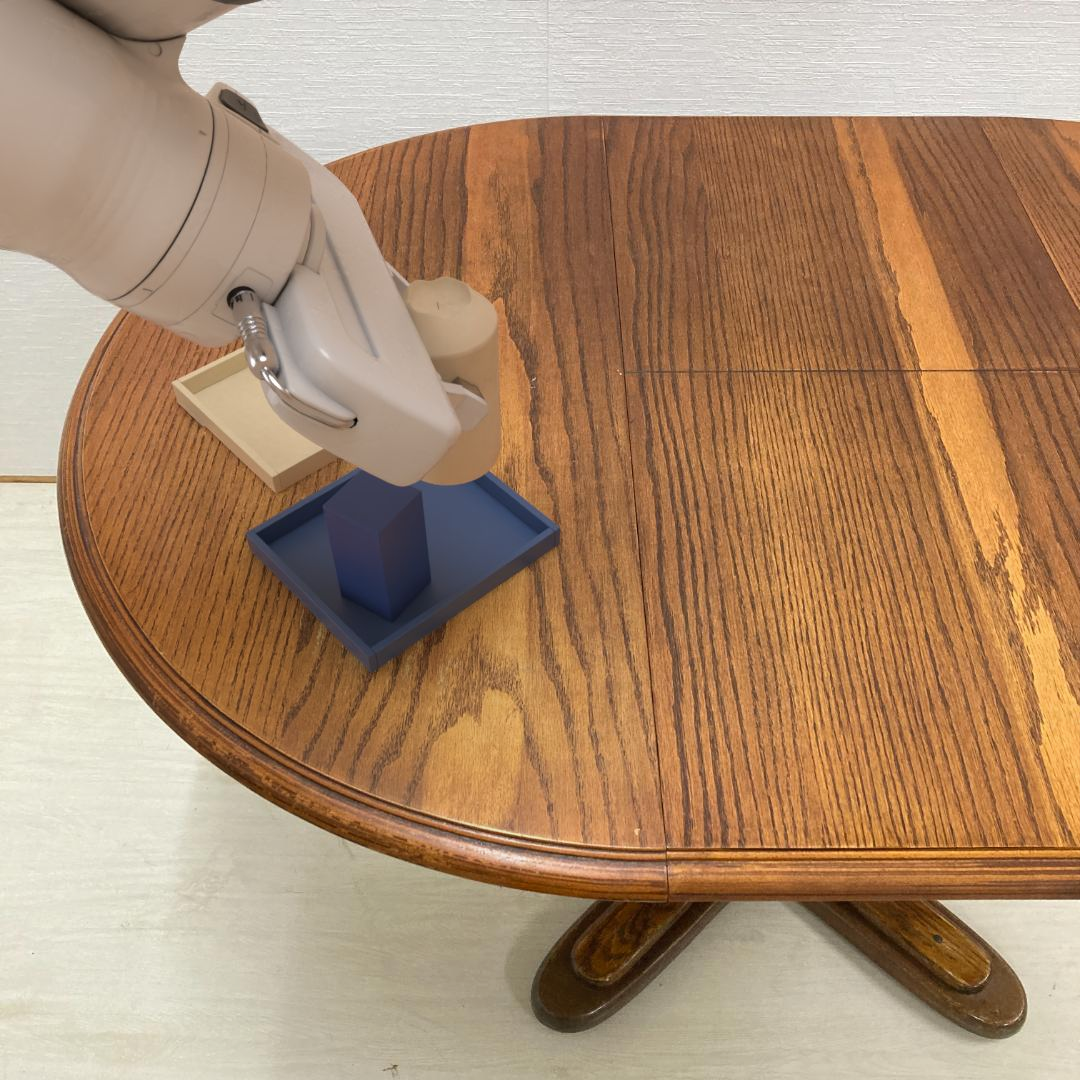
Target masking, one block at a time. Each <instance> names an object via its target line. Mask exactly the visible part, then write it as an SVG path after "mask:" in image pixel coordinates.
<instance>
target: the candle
mask: <svg viewBox="0 0 1080 1080" xmlns="http://www.w3.org/2000/svg"><path fill="white" fill-rule="evenodd" d="M409 284H410V285H409V287H408V288H407V289H406V290H404V291H403V292H402V293H401V297H402V299H403V301H404V303H405V305H406V307H407V309H408V312H409V314H410V316H411V318H412V320H413V322H414V324H415V327H416V329H417V331H418V333H419V335H420V337H421V340H422V342H423V344H424V346H425V348H426V350H427V352H428V355H429V357H430V359H431V361H432V363H433V365H434V367H435V370H436V372H438V373H439V374H440V376H441V378H442V380H441V381H443V382H447V383H451V382H452V381H453V380H454V379H455V378H456V377H457V376H458V377H460V378H462V379H464V380H466V381H468V382H469V383H470V384H471V385H475V386H477V387H478V388H479V390H480V392H481V393H482V395H483V397H484V399H485V401H486V403H487V405H488V407H489V412H488V415H487V416H486V417H485V418H484V419H483V420H482V421H481V422H480V423H479V424H478V425H477V426H476V427H475V428H474V429H473V430H471V431H468V432H464V431H462V434H461V437H460V438H459V440H458V441H457V443H456V444H455V445H454V446H453V447H452V448H451V450H450V451H449V452H448V453H447V454H446V455H445V456H444V457H443V459H442V460H441V461H440V462H439V463H438V464H437V465H436V466H435V467H434V468H433V469H432V470H431V471H430V472H429V473H428V474H427V475H426V476H425V477H424V478H423V479H421V480H422V481H424V482H427V483H431V484H436V485H458V484H463V483H467V482H470V481H473V480H475V479H477V478H479V477H481V476H483V475H484V474H486V473H487V472H488V471H491V470H492V468H494V467H495V465H496V463H497V462H498V460H499V457H500V454H501V448H502V418H501V417H502V416H501V384H500V383H501V381H500V380H501V379H500V352H499V351H500V347H499V345H500V343H499V318H498V312H497V310H496V307H495V306H494V305H493V303H492V302H491V301H490V300H489V299H488V298H487V297H486V296H485V295H482V294H481V293H479V292H478V291H477V290H475V289H474V288H472V287H470V286H469V285H468V284H467V283H466V282H464V281H461V280H460V279H456V278H455V277H450V276H440V277H438V278H435V279H433V280H425V279H416V280H415V279H414V280H413V281H412V282H411V283H409Z"/></svg>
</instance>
